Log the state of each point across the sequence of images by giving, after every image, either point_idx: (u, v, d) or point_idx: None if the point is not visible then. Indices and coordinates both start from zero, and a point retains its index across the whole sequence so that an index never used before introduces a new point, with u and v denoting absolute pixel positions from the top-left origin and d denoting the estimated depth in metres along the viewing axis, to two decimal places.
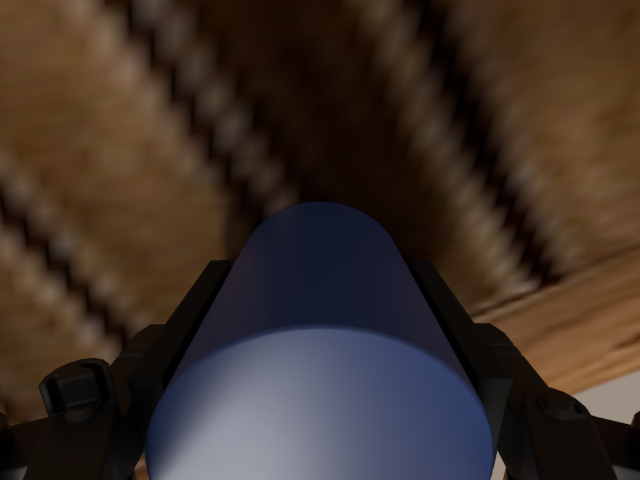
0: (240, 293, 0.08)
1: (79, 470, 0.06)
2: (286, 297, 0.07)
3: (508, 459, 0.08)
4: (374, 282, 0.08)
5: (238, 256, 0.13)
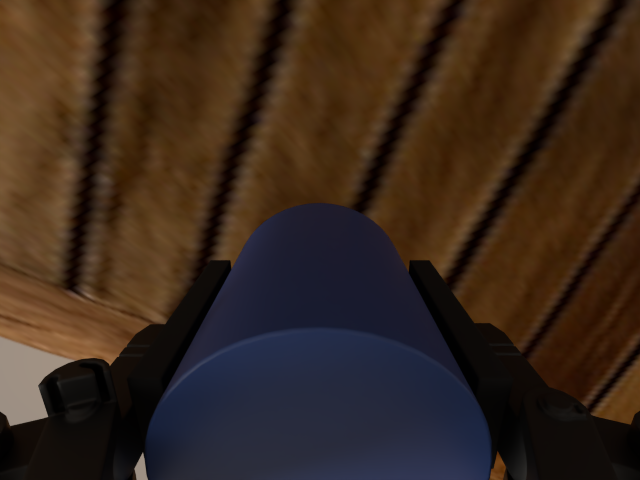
0: (239, 295, 0.08)
1: (79, 470, 0.06)
2: (285, 300, 0.07)
3: (508, 459, 0.08)
4: (372, 285, 0.08)
5: None
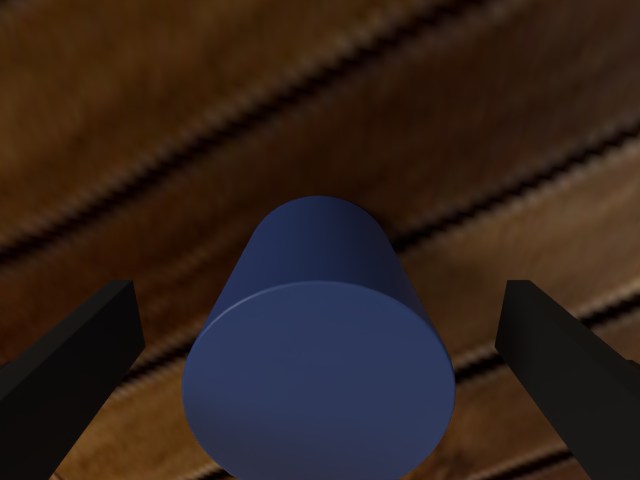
0: (254, 265, 0.10)
1: None
2: (292, 264, 0.09)
3: None
4: (362, 255, 0.10)
5: (248, 243, 0.15)
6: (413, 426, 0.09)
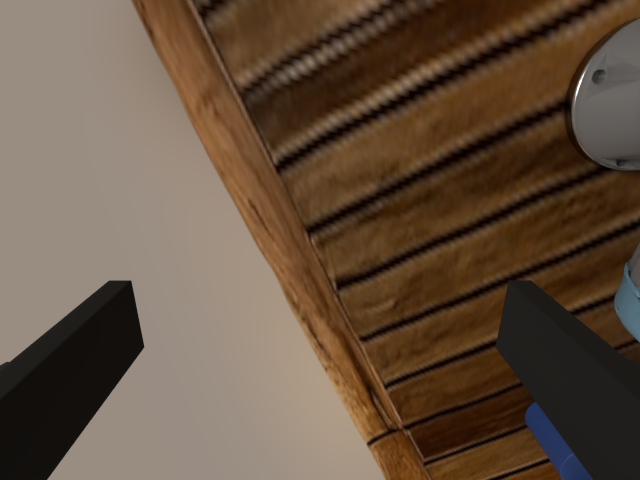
0: None
1: None
2: None
3: None
4: None
5: (536, 413, 0.52)
6: None
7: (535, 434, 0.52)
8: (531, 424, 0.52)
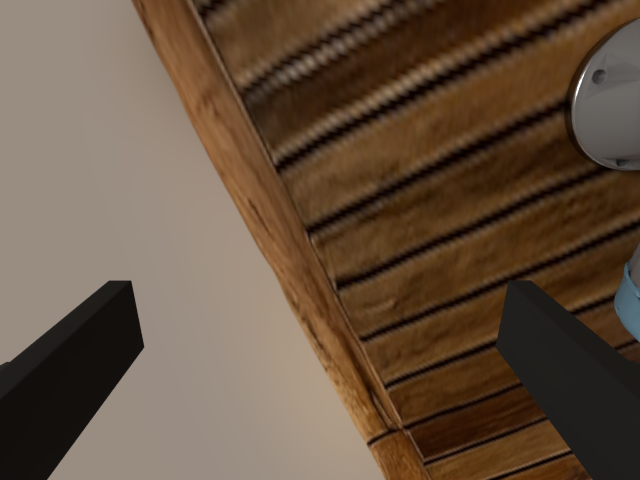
0: None
1: None
2: None
3: None
4: None
5: None
6: None
7: None
8: None
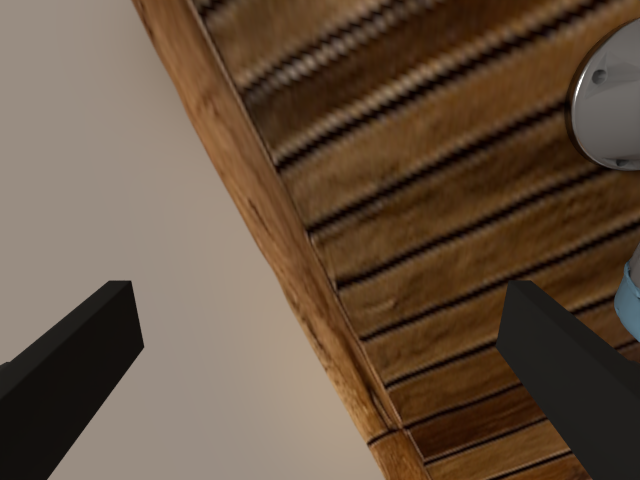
0: None
1: None
2: None
3: None
4: None
5: None
6: None
7: None
8: None
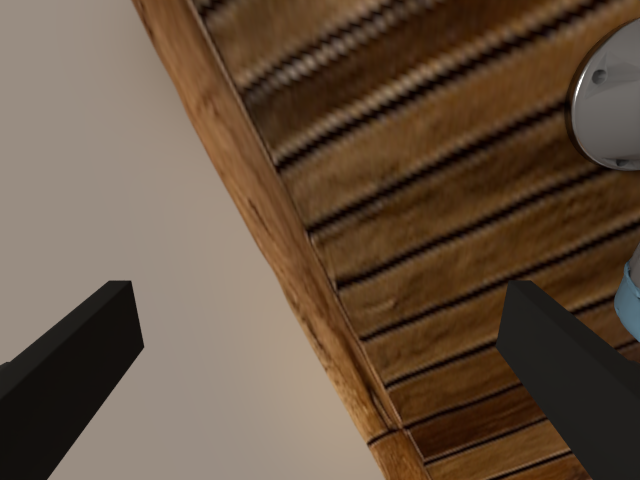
0: None
1: None
2: None
3: None
4: None
5: None
6: None
7: None
8: None
